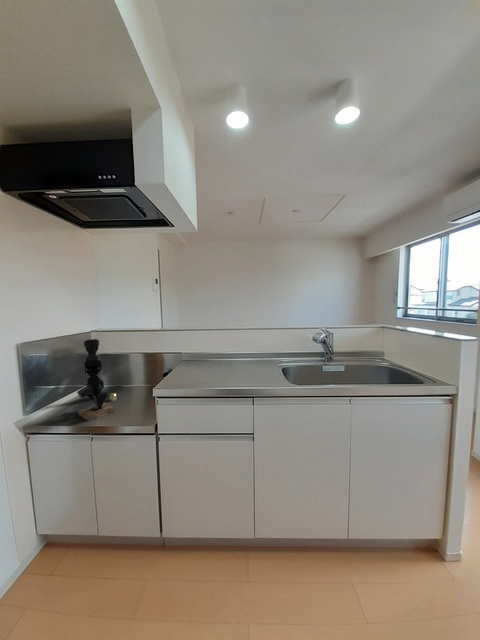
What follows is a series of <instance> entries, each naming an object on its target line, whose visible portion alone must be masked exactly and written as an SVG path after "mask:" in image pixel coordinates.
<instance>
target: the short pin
mask: <svg viewBox="0 0 480 640" xmlns="http://www.w3.org/2000/svg"><path fill="white" fill-rule="evenodd" d="M108 396H109V402H115V401H117V400H118V399H117V393H116V392H111V393H109V394H108Z"/></svg>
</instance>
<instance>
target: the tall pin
mask: <svg viewBox="0 0 480 640" xmlns="http://www.w3.org/2000/svg"><path fill="white" fill-rule="evenodd" d="M91 401H92V405H91V406H92V411H93V412H94V411H97V410H100V409H98V405H97V401H95V400H94V399H92V400H91Z"/></svg>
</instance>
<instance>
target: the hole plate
mask: <svg viewBox="0 0 480 640" xmlns="http://www.w3.org/2000/svg"><path fill="white" fill-rule="evenodd" d="M77 412H78V416H80V417H81V418H83V419H84V420H86V421H88V422H91V421H93V420H96V419H99V418H101V417H103V416H104V417H105V416H106V415H110V414H112V413H115V407H114V406H113V405H110V404H108V403H106V402H104V403H103V405H102V407H101V409H100V410H97V411H94V412H93V411H92V405H91V406H90V405H89V406H86V407H83V408H80V409H78V410H77Z"/></svg>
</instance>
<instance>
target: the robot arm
mask: <svg viewBox="0 0 480 640" xmlns="http://www.w3.org/2000/svg"><path fill="white" fill-rule="evenodd" d="M99 347H100V339H97V338H92V339H86V340H83V348H85V351H86V352H87V356H86V357H85V361H84V374H86V375H87V382H86V386H83V387H82V388H81V389H78V390H77V391H76V394H77V395H78V397H79V398H81V399H84V398H85V397H87V398H88V400H89V402H90V405H91V406H92V401H91V400H92V399H94V400H95V401H97V405H98V409H101V407H102V405H103V403H105V401H106V399H107V398H108V397H109V394H108V392H106V391H105V390H103V389H104V388H105V386H104V380H103V379H102V378H101V375H100V372H101V371H102V369H103V367H102V366H103V365H102V361H101V359H99V356H98V355H97V352H98V351H99Z"/></svg>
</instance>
